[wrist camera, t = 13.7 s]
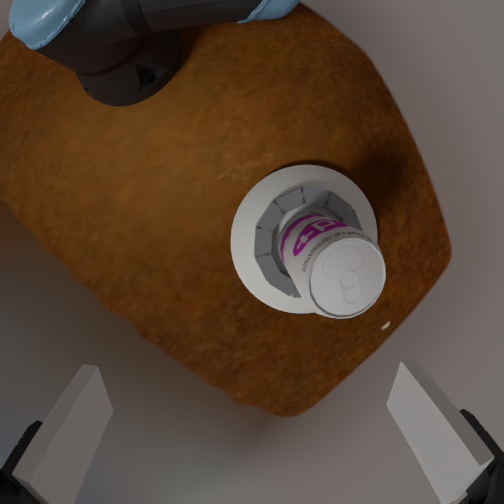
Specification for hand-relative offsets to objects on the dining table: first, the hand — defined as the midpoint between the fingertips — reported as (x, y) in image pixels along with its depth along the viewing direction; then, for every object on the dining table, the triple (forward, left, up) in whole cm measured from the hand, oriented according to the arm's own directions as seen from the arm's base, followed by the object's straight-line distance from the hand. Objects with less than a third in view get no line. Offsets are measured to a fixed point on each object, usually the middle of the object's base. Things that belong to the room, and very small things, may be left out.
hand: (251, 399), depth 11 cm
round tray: (-1, +8, -28) cm, 30 cm away
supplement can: (-1, +8, -28) cm, 29 cm away
